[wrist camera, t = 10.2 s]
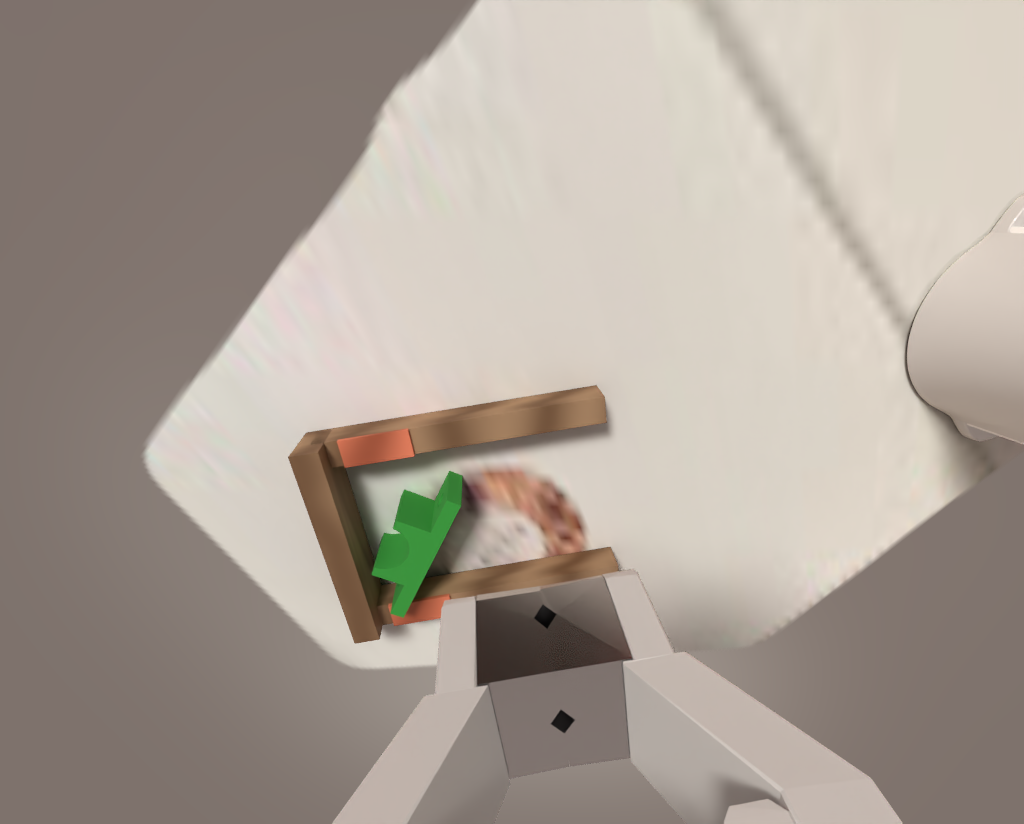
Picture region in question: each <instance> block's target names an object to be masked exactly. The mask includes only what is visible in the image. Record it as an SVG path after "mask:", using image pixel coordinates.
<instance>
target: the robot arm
mask: <svg viewBox="0 0 1024 824" xmlns="http://www.w3.org/2000/svg"><path fill="white" fill-rule="evenodd" d="M907 365H908V371H909V375H910V379H911V381H912V384H913V386H914V388H915V389H916V391H917V392H918V394H919V395H920V396H921V397H922V398H923V399H924V400H925V401H926V402H927V403H928V404H930V405H931V406H933V407H935V408H936V409H938V410H940V411H942V412H944V413H946V414H948V415H949V416H950V417H951V418H952V420H953V422H954V423H955V425H956V427H957V429H958V430H959V432H960V433H961V434H962V435H963V436H964V437H967V438H969V439H972V440H975V441H986V440H990V439H992V438H995V437H998V436H1000V437H1003V438H1006V439H1009V440H1012V441H1014V442H1017V443H1020V444H1023V445H1024V195H1022V196H1020V197H1019V198H1018V199H1016V200H1015V201H1014V202H1013V203H1012V205H1011V206H1010V207H1009V208H1008V209H1007V210H1006V212H1005V213H1004V214H1003V216H1002V217H1001V218H1000V220H999V221H998V222H997V224H996V225H995V226H994V228H993V229H992V231H991V232H990V233H989V234H988V235H987V236H986V237H985V238H984V239H983V240H981V241H980V242H979V243H978V244H976V245H975V246H974V247H973V248H971V249H970V250H969V251H967V252H966V253H965V254H963V255H962V256H961V257H960V258H959V259H958V260H956V261H955V262H954V263H953V264H952V265H951V266H950V267H949V268H948V269H947V270H946V271H945V272H944V273H943V274H942V276H941V277H940V278H939V279H938V280H937V282H936V283H935V284H934V286H933V287H932V288H931V290H930V291H929V293H928V294H927V296H926V297H925V299H924V301H923V303H922V304H921V306H920V308H919V310H918V313H917V315H916V317H915V320H914V322H913V325H912V328H911V332H910V336H909V341H908V348H907ZM626 758H631V762H632V763H633V764H634V765H635V767H636V768H637V769H638V770H639V771H640V772H641V773H642V774H643V775H644V777H645V778H646V779H647V780H648V781H649V782H650V783H651V785H652V786H653V787H654V788H655V789H656V790H657V791H658V793H659V794H660V795H661V796H662V797H663V798H664V799H665V800H666V802H667V803H668V804H669V805H670V806H671V807H672V808H673V809H674V811H675V812H676V813H677V814H678V815H679V816H680V817H681V819H683V821H684V822H685V823H686V824H903V823H902V822H901V820H900V819H899V817H898V816H897V814H896V813H895V812H894V810H893V809H892V807H891V806H890V805H889V803H888V802H887V800H886V799H885V797H884V796H883V795H882V793H881V792H880V790H879V789H878V787H877V786H876V785H875V783H874V782H873V780H872V779H871V778H870V777H869V776H867V775H866V774H864V773H863V772H861V771H860V770H858V769H857V768H855V767H854V766H853V765H851V764H850V763H848V762H847V761H845V760H844V759H842V758H841V757H839V756H838V755H836V754H835V753H834V752H832V751H831V750H829V749H828V748H826V747H825V746H823V745H822V744H820V743H819V742H817V741H816V740H815V739H813V738H812V737H810V736H809V735H807V734H806V733H804V732H803V731H801V730H800V729H798V728H797V727H795V726H794V725H792V724H791V723H790V722H788V721H787V720H785V719H784V718H782V717H781V716H779V715H778V714H776V713H775V712H774V711H772V710H770V709H769V708H768V707H766V706H765V705H763V704H762V703H760V702H759V701H757V700H756V699H755V698H753V697H752V696H750V695H748V694H747V693H746V692H744V691H743V690H741V689H740V688H738V687H737V686H736V685H734V684H732V683H731V682H730V681H728V680H727V679H725V678H724V677H722V676H721V675H719V674H718V673H716V672H715V671H714V670H712V669H710V668H709V667H708V666H706V665H705V664H703V663H702V662H700V661H699V660H697V659H696V658H695V657H693V656H691V655H690V654H689V653H687V652H686V651H685V652H678V653H675V652H674V650H673V648H672V645H671V643H670V641H669V639H668V637H667V635H666V633H665V630H664V628H663V626H662V624H661V622H660V620H659V617H658V615H657V613H656V611H655V609H654V607H653V605H652V602H651V600H650V598H649V596H648V594H647V592H646V589H645V587H644V585H643V583H642V581H641V579H640V577H639V574H638V572H636V571H635V570H634V569H629V570H623V571H618V572H613V573H607V574H602V576H600V575H599V576H594V577H588V578H582V579H577V580H571V581H565V582H560V583H554V584H548V585H543V586H537V587H530V588H523V589H516V590H509V591H502V592H495V593H488V594H481V595H477V596H472V597H465V598H458V599H451V600H445V601H444V603H443V606H442V609H441V622H440V635H439V648H438V661H437V675H436V687H435V694H432V695H427V696H424V697H423V699H422V700H421V702H420V703H419V704H418V706H417V707H416V708H415V710H414V711H413V712H412V714H411V715H410V717H409V718H408V719H407V721H406V722H405V724H404V725H403V726H402V728H401V729H400V731H399V732H398V733H397V735H396V736H395V738H394V739H393V740H392V741H391V743H390V745H389V746H388V747H387V748H386V750H385V751H384V753H383V754H382V755H381V757H380V758H379V759H378V761H377V762H376V764H375V765H374V766H373V768H372V769H371V770H370V772H369V773H368V775H367V776H366V777H365V779H364V780H363V781H362V783H361V784H360V786H359V787H358V788H357V790H356V791H355V793H354V794H353V795H352V797H351V798H350V799H349V801H348V802H347V804H346V805H345V806H344V808H343V809H342V810H341V812H340V813H339V815H338V816H337V817H336V819H335V820H334V822H333V823H332V824H494V823H495V820H496V818H497V815H498V813H499V810H500V808H501V805H502V803H503V800H504V798H505V795H506V793H507V790H508V788H509V785H510V780H509V779H511V778H516V777H521V776H526V775H530V774H535V773H540V772H545V771H550V770H555V769H559V768H564V767H569V764H570V766H576V765H583V764H591V763H597V762H605V761H612V760H619V759H626Z"/></svg>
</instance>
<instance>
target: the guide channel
mask: <svg viewBox="0 0 1024 824" xmlns="http://www.w3.org/2000/svg"><path fill="white" fill-rule="evenodd" d="M601 423H607V421H606V408H605V397H604V395H603V394H602V392H601V391H600V390H599V388H598V387H597V385H595V386H589V387H583V388H577V389H571V390H565V391H559V392H553V393H547V394H540V395H534V396H528V397H522V398H516V399H510V400H504V401H498V402H492V403H485V404H479V405H473V406H467V407H461V408H455V409H449V410H443V411H436V412H430V413H424V414H418V415H412V416H406V417H400V418H394V419H388V420H381V421H375V422H369V423H363V424H357V425H351V426H345V427H339V428H333V429H326V430H320V431H314V432H308V433H306V434H305V435H304V437H303V438H302V439H301V441H300V442H299V443H298V445H297V446H296V447H295V449H294V450H293V452H292V453H291V454H290V456H289V457H288V458H289V461H290V464H291V467H292V469H293V472H294V475H295V478H296V481H297V483H298V486H299V489H300V492H301V495H302V497H303V500H304V503H305V506H306V508H307V511H308V514H309V517H310V520H311V522H312V525H313V528H314V531H315V534H316V536H317V539H318V542H319V545H320V548H321V550H322V553H323V556H324V559H325V562H326V564H327V567H328V570H329V573H330V576H331V578H332V581H333V584H334V587H335V589H336V592H337V595H338V598H339V601H340V603H341V606H342V609H343V612H344V615H345V617H346V620H347V623H348V626H349V629H350V631H351V634H352V637H353V640H354V643H361V642H367V641H373V640H379V639H380V635H381V630H382V626H383V625H386V624H392V623H393V624H394V626H397V625H403V624H409V623H415V622H421V621H426V620H432V619H438V618H441V609H442V606H443V603H444V601H445V600H451V599H458V598H465V597H472V596H477V595H481V594H488V593H495V592H502V591H509V590H516V589H523V588H530V587H537V586H543V585H548V584H554V583H560V582H565V581H571V580H577V579H582V578H588V577H594V576H599V575H600V576H602V574H607V573H613V572H618V564H617V562H616V560H615V557H614V555H613V552H612V550H611V547H607V548H601V549H595V550H589V551H583V552H577V553H571V554H565V555H559V556H553V557H547V558H541V559H535V560H529V561H523V562H517V563H512V564H506V565H500V566H494V567H488V568H482V569H476V570H470V571H464V572H458V573H452V574H446V575H440V576H434V577H428V578H424V579H423V581H422V583H421V585H420V587H419V589H418V591H417V593H416V595H415V597H414V599H413V601H412V603H411V605H410V607H409V608H408V610H407V612H406V614H405V616H404V618H403V617H399V616H396V615H393V614H390V612H391V607H392V602H393V597H394V592H395V588H396V583H392V584H387V585H381V581H380V578H379V577H376V576H373V575H372V571H373V567H374V564H375V562H374V559H373V556H372V552H371V549H370V546H369V543H368V540H367V536H366V533H365V530H364V527H363V524H362V520H361V517H360V514H359V511H358V508H357V504H356V501H355V498H354V495H353V491H352V488H351V485H350V482H349V479H348V475H347V472H346V469H345V468H347V467H353V466H359V465H365V464H371V463H378V462H384V461H390V460H396V459H402V458H408V457H414V456H415V454H418V453H424V452H430V451H436V450H443V449H449V448H455V447H461V446H467V445H473V444H479V443H485V442H491V441H497V440H503V439H509V438H515V437H522V436H528V435H534V434H540V433H546V432H552V431H558V430H564V429H570V428H576V427H582V426H588V425H594V424H601Z"/></svg>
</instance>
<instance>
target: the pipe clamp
mask: <svg viewBox="0 0 1024 824" xmlns="http://www.w3.org/2000/svg"><path fill="white" fill-rule="evenodd" d="M461 499H462V475H459V474H456V473H454V472H451V471H449V473H448V475H447V477H446V479H445V481H444V483H443V485H442V487H441V489H440V491H439V493H438V495H437V497H436V499H435V501H434V500H432V499H429V498H426V497H423V496H421V495H418V494H415V493H412V492H410V491H407V490H404V492H403V494H402V496H401V499H400V503H399V507H398V511H397V515H396V519H395V523H394V527H393V529H394V530H397V531H398V532H400V534H387V533H384V535H383V537H382V539H381V542H380V546H379V549H378V553H377V557H376V560H375V564H374V567H373V571H372V575H373V576H376V577H379V578H382V579H385V580H389V581H392V582H395V583H396V588H395V592H394V597H393V602H392V607H391V612H390V614H393V615H396V616H399V617H403V618H404V616H405V614H406V612H407V610H408V608H409V607H410V605H411V603H412V601H413V599H414V597H415V595H416V593H417V591H418V589H419V587H420V585H421V583H422V581H423V579H424V577H425V575H426V573H427V571H428V570H429V568H430V566H431V564H432V562H433V560H434V558H435V556H436V554H437V552H438V550H439V548H440V546H441V544H442V542H443V540H444V538H445V536H446V535H447V533H448V531H449V529H450V527H451V525H452V523H453V521H454V519H455V517H456V515H457V513H458V511H459V509H460V507H461Z"/></svg>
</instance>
